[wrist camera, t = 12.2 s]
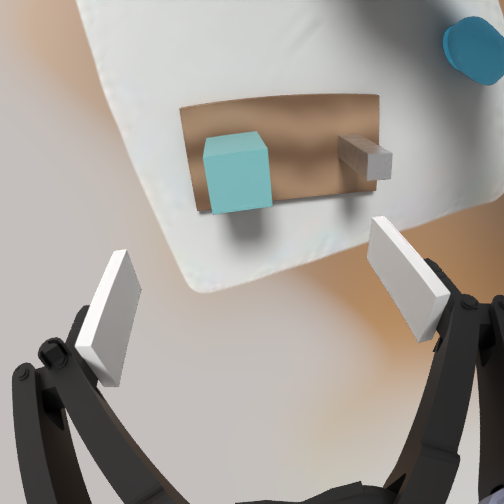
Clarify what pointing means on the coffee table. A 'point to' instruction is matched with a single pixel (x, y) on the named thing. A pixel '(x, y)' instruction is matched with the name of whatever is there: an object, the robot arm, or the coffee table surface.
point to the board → (287, 140)
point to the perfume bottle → (475, 49)
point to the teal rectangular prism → (237, 172)
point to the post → (365, 157)
